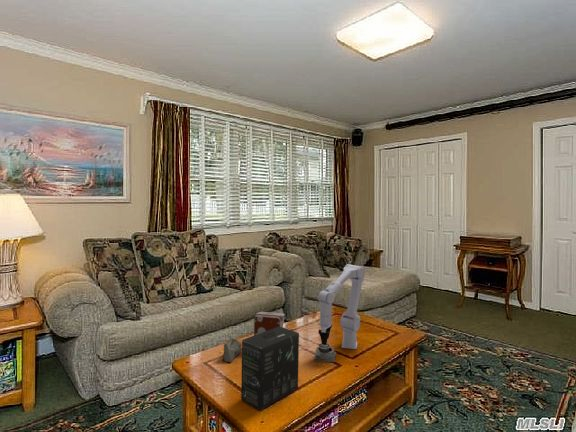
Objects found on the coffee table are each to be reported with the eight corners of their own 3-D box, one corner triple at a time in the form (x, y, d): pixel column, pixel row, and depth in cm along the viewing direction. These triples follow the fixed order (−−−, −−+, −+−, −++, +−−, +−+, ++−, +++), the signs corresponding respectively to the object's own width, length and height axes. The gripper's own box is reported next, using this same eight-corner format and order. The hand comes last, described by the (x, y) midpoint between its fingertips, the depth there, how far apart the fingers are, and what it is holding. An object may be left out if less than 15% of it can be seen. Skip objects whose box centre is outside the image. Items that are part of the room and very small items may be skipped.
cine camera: (289, 357, 176) (290, 318, 175) (252, 353, 179) (252, 315, 178) (293, 349, 185) (293, 312, 184) (257, 346, 188) (258, 309, 187)
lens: (320, 352, 180) (320, 342, 179) (330, 353, 178) (330, 343, 178) (318, 356, 175) (318, 346, 175) (328, 357, 173) (328, 347, 173)
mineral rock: (239, 350, 184) (239, 331, 183) (249, 357, 175) (250, 337, 174) (216, 356, 176) (216, 336, 175) (226, 364, 167) (226, 344, 167)
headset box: (278, 378, 155) (279, 320, 154) (299, 388, 147) (300, 327, 146) (239, 399, 138) (240, 335, 137) (261, 412, 130) (261, 344, 129)
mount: (316, 351, 182) (316, 344, 182) (336, 353, 180) (336, 346, 180) (313, 360, 173) (313, 352, 173) (333, 362, 170) (333, 354, 170)
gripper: (320, 309, 183) (319, 335, 184) (315, 318, 169) (315, 346, 170) (333, 310, 182) (333, 336, 182) (330, 320, 168) (329, 348, 168)
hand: (325, 341), depth 176 cm, fingers open, 7 cm apart
